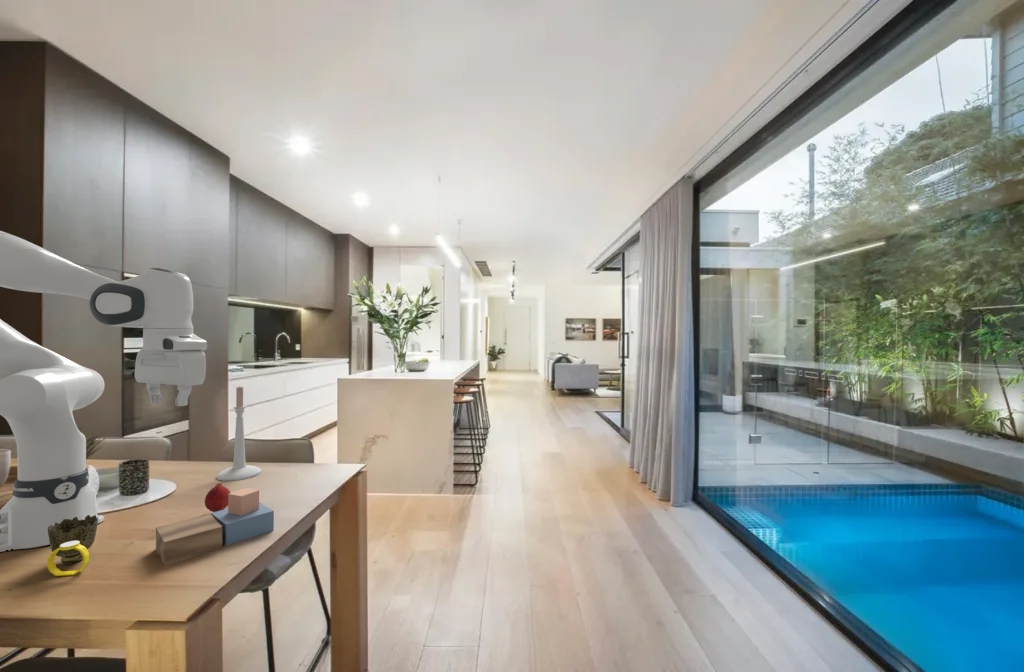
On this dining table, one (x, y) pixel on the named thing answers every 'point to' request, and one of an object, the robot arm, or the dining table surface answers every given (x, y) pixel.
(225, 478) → the candlestick
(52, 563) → the watch
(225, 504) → the onion
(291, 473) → the dining table surface
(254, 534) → the slate-blue block
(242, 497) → the terracotta cube
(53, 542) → the cup
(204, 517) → the walnut block
